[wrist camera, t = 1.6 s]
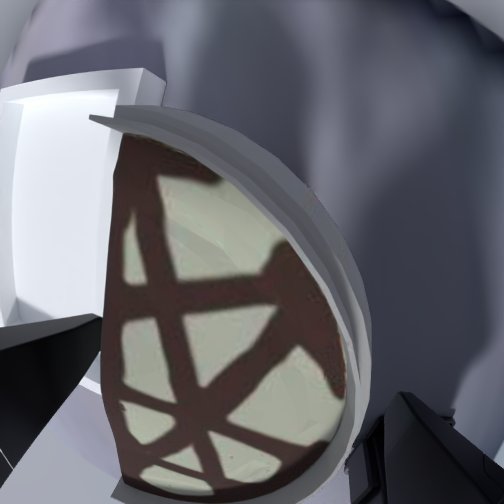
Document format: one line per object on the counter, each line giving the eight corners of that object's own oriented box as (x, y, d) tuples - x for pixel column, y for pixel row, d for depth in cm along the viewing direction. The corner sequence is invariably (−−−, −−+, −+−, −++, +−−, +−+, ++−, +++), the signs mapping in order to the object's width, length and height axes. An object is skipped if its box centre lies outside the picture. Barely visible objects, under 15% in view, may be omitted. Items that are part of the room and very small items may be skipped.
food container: (294, 393, 16) (278, 551, 6) (191, 366, 16) (112, 502, 7) (365, 176, 13) (505, 178, 3) (233, 144, 13) (97, 81, 4)
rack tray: (166, 82, 13) (143, 67, 10) (135, 380, 17) (117, 403, 15) (26, 93, 14) (1, 89, 11) (19, 322, 19) (0, 334, 16)
